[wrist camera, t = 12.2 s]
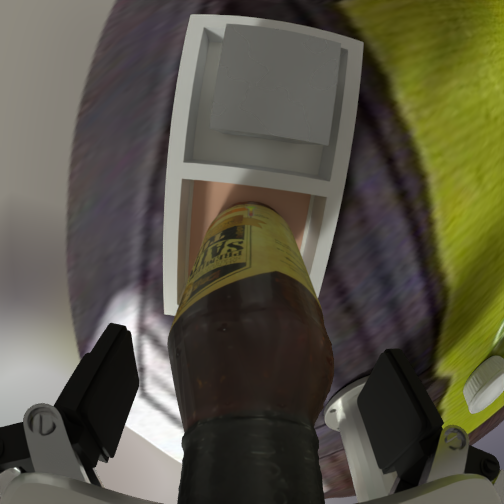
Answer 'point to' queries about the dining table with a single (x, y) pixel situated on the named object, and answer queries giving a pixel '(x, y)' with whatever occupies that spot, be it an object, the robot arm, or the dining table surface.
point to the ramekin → (485, 384)
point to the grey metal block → (275, 85)
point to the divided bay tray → (250, 159)
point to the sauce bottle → (250, 365)
